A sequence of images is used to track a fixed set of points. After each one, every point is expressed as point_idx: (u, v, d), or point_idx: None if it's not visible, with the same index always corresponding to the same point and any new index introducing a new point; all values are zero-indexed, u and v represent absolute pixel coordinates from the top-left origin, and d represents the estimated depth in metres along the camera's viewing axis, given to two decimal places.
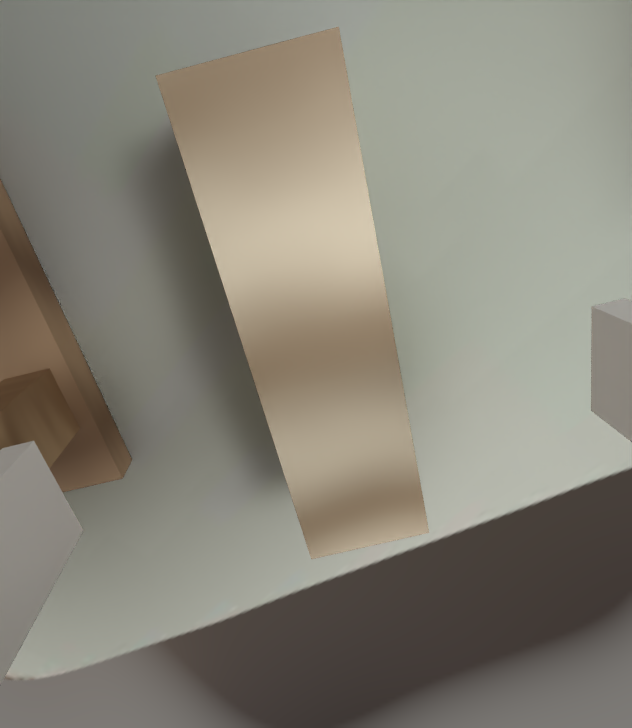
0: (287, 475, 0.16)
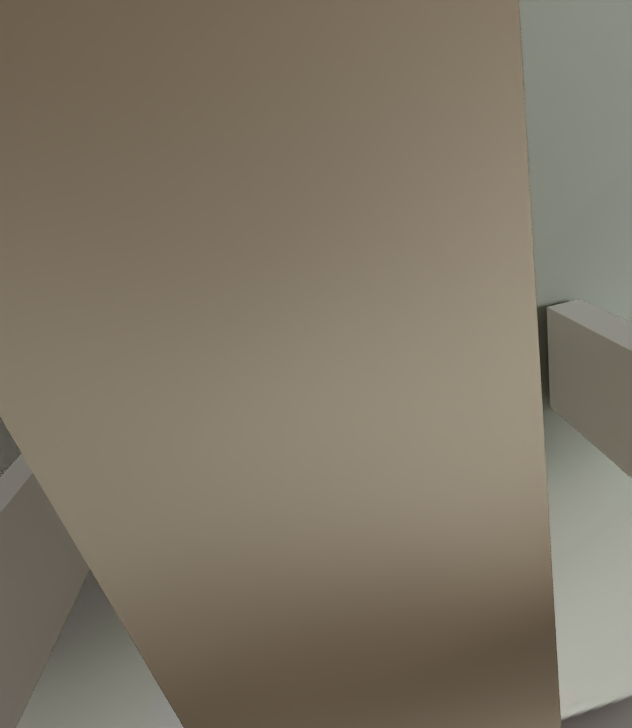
0: None
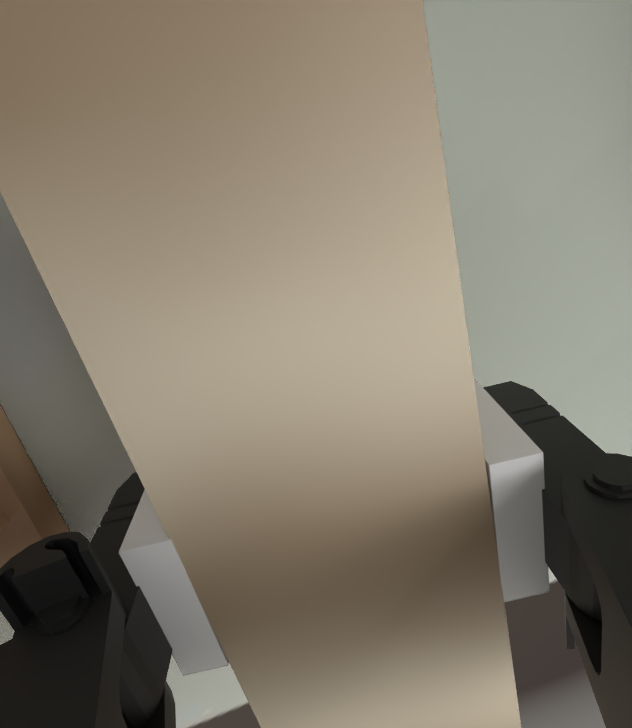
0: None
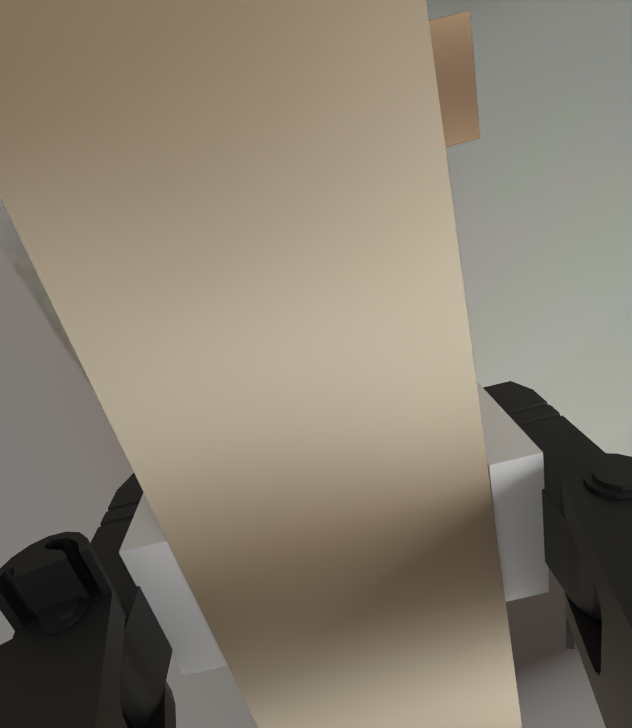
0: None
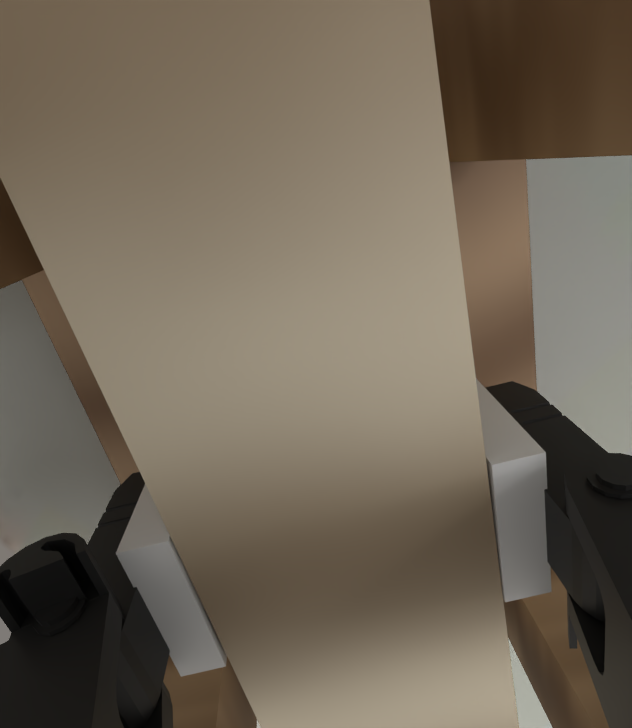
0: None
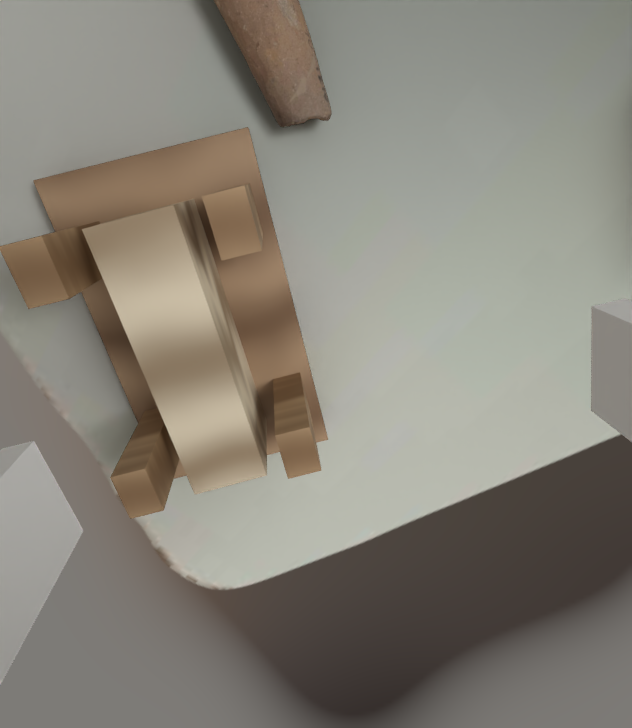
0: (173, 440, 0.27)
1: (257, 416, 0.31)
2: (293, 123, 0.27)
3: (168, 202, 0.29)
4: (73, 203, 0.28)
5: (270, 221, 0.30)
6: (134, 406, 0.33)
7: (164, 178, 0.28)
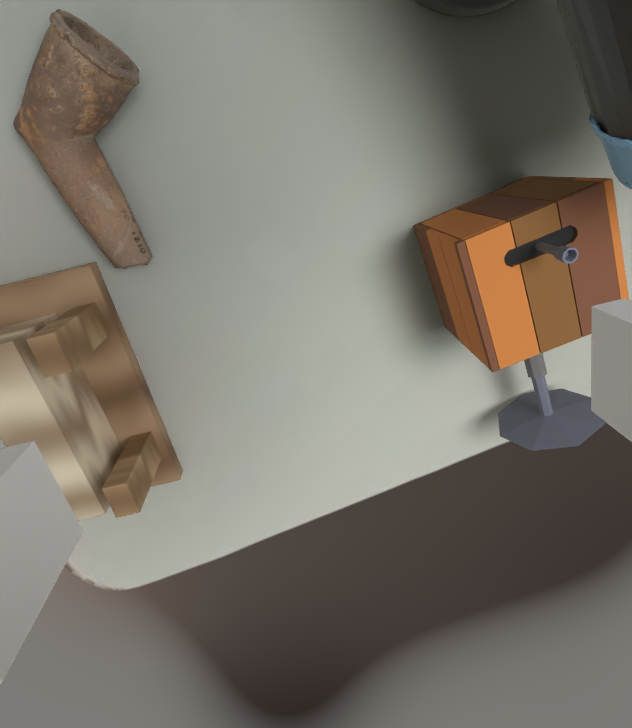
0: None
1: (109, 467, 0.42)
2: (120, 267, 0.38)
3: (37, 315, 0.40)
4: None
5: (114, 327, 0.41)
6: None
7: (32, 300, 0.39)
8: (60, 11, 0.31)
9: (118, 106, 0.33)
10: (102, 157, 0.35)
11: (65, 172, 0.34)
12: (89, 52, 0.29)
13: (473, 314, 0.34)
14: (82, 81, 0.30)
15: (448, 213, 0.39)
